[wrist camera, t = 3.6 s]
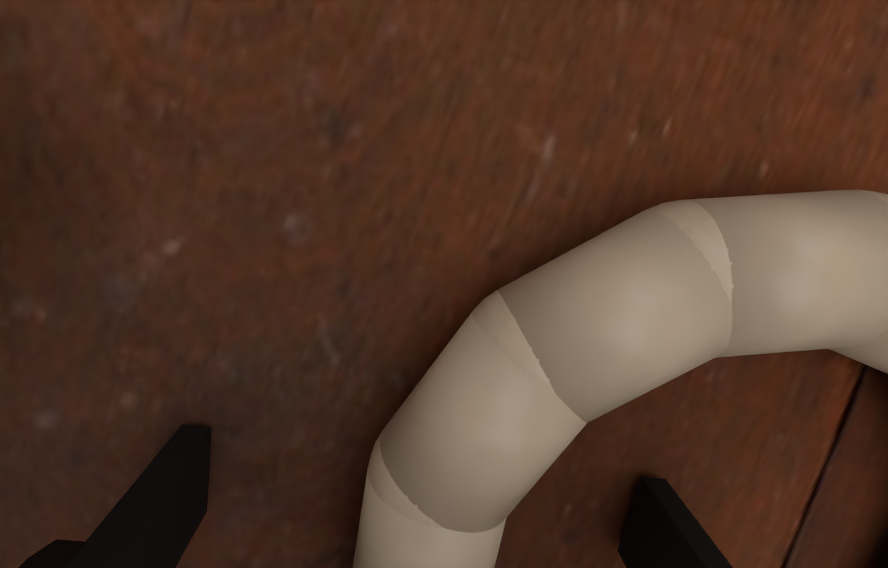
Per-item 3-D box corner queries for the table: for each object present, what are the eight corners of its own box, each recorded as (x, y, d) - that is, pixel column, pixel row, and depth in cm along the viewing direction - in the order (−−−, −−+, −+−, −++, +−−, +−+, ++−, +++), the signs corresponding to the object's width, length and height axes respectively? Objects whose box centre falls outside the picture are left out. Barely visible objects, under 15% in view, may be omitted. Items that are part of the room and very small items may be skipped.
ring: (326, 737, 17) (304, 890, 13) (421, 112, 11) (425, 97, 8) (850, 761, 19) (949, 899, 15) (1132, 245, 14) (1377, 279, 10)
